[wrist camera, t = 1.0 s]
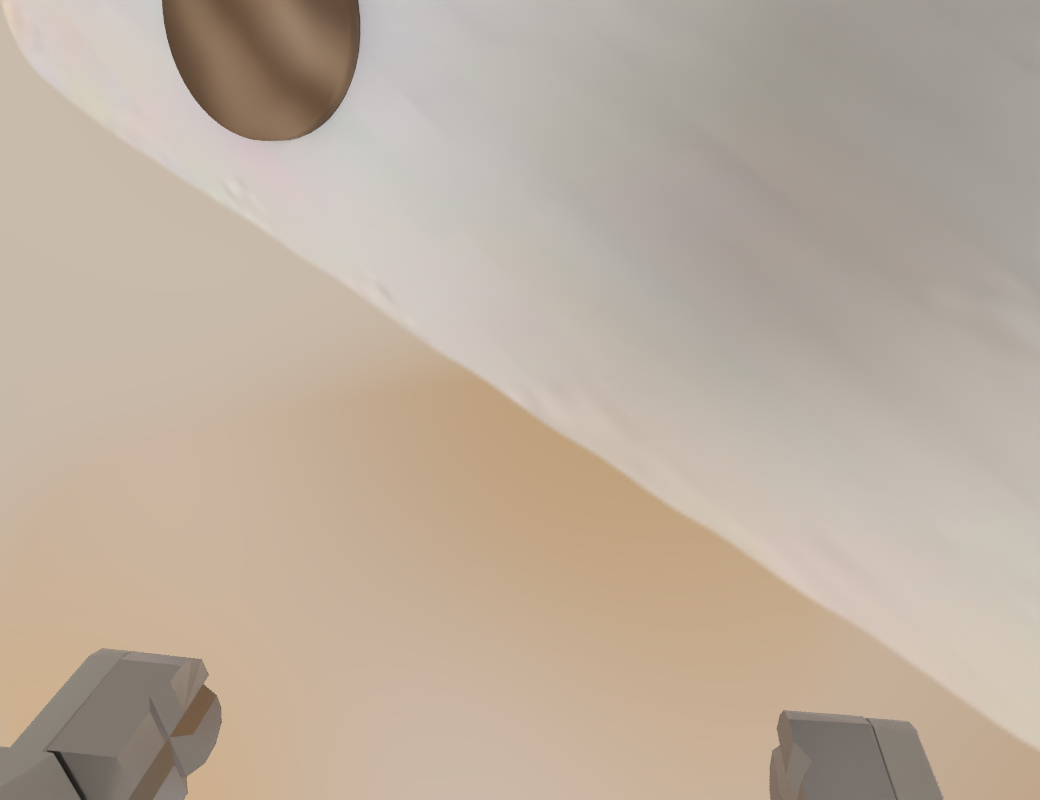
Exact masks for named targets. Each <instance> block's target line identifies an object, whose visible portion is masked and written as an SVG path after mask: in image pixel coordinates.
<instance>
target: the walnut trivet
mask: <svg viewBox="0 0 1040 800" xmlns="http://www.w3.org/2000/svg"><path fill="white" fill-rule="evenodd" d="M162 7H163V16H164V24H165V29H166V34H167V39H168V43H169V46H170V50H171V53H172V56H173V58H174V61H175V64H176V66H177V69H178V71H179V73H180V75H181V77H182V79H183V81H184V83H185V84H186V86H187V88H188V89H189V91H190V93H191V94H192V96H193V97H194V98H195V100H196V101H197V102H198V104H199V105H200V106H201V107H202V108H203V109H204V110H205V111H206V112H207V114H208V115H209V116H210V117H212V118H213V119H214V120H215V121H216V122H218V123H219V124H220V125H222V126H223V127H225V128H226V129H228V130H229V131H231V132H233V133H235V134H238V135H240V136H242V137H246V138H249V139H253V140H262V141H275V140H291V139H295V138H299V137H302V136H304V135H306V134H309V133H311V132H312V131H314V130H315V129H317V128H319V127H320V126H321V125H322V124H323V123H325V122H326V121H327V120H328V119H329V118H330V117H331V116H332V114H333V113H334V112H335V111H336V109H337V108H338V107H339V105H340V103H341V102H342V100H343V98H344V97H345V95H346V92H347V90H348V88H349V86H350V84H351V81H352V77H353V74H354V71H355V68H356V62H357V57H358V52H359V41H360V16H359V7H358V0H162Z"/></svg>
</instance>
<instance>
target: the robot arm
mask: <svg viewBox="0 0 1040 800" xmlns="http://www.w3.org/2000/svg"><path fill="white" fill-rule="evenodd" d="M208 675H209V674H208V672H207V670H206V668H205V665H204V663H203V661H202V659H194V658H186V657H177V656H168V655H160V654H151V653H142V652H135V651H125V650H114V649H103V648H102V649H100V650H99V651H97V652H95V653H93V654H92V655H90V656H89V657H88V658H87V659H86V660H85V661H84V662H83V664H82V665H81V666H80V667H79V668H78V669H77V670H76V672H75V673H74V674H73V675H72V676H71V677H70V679H69V680H68V681H67V682H66V683H65V684H64V686H63V687H62V688H61V689H60V690H59V691H58V692H57V694H56V695H55V696H54V697H53V698H52V699H51V701H50V702H49V703H48V704H47V705H46V706H45V708H44V709H43V710H42V711H41V712H40V713H39V714H38V716H37V717H36V718H35V719H34V721H32V723H31V724H30V725H29V726H28V727H27V728H26V730H25V731H24V732H23V733H22V734H21V736H20V737H19V738H18V739H17V740H16V741H15V742H14V744H13V745H12V746H11V747H0V800H184V799H185V797H186V795H187V793H188V790H187V776H188V775H190V774H191V773H192V772H194V771H195V770H196V769H197V768H199V767H200V766H202V765H203V764H204V763H205V762H206V760H207V759H208V757H209V755H210V753H211V751H212V750H213V748H214V746H215V744H216V741H217V737H218V734H219V730H220V726H221V723H222V721H221V720H222V719H221V706H220V703H219V700H218V698H217V695H216V694H214V693H213V692H212V691H211V690H209V688H207V687H206V686H205V685H204V682H205V680H206V679H207V677H208ZM777 731H778V736H779V742H780V746H778V747H777V748H775V749H774V750H773V751H772V757H771V763H770V798H771V800H944V797H943V795H942V792H941V790H940V787H939V785H938V782H937V780H936V777H935V775H934V772H933V770H932V767H931V765H930V762H929V760H928V757H927V755H926V753H925V750H924V748H923V745H922V742H921V740H920V738H919V735H918V732H917V730H916V729H915V728H914V727H913V726H912V724H911V723H910V722H908V721H901V720H888V719H875V718H863V717H862V716H851V715H839V714H825V713H813V712H799V711H786V710H784V711H783V712H782V713H781V714H780V717H779V721H778V726H777Z"/></svg>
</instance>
